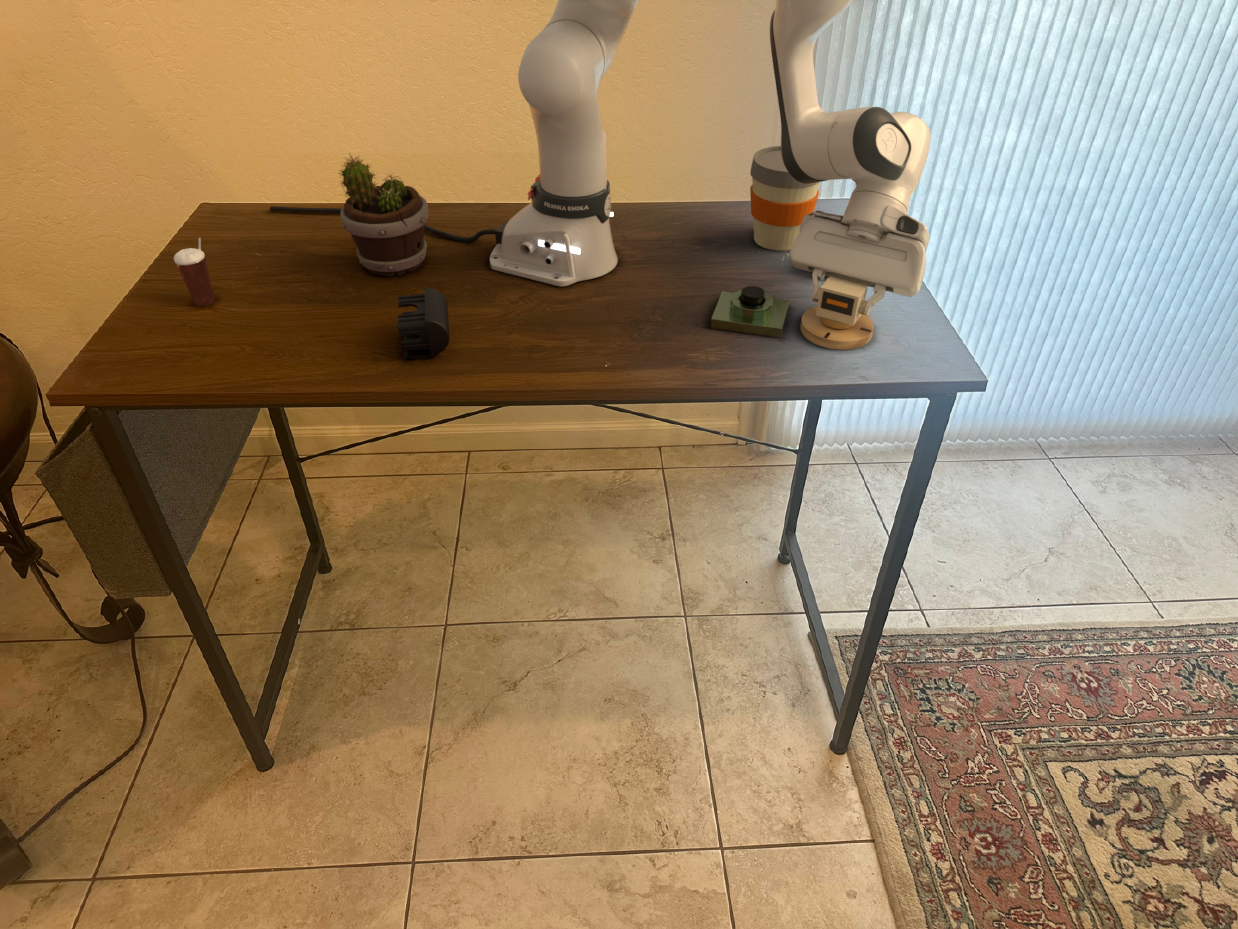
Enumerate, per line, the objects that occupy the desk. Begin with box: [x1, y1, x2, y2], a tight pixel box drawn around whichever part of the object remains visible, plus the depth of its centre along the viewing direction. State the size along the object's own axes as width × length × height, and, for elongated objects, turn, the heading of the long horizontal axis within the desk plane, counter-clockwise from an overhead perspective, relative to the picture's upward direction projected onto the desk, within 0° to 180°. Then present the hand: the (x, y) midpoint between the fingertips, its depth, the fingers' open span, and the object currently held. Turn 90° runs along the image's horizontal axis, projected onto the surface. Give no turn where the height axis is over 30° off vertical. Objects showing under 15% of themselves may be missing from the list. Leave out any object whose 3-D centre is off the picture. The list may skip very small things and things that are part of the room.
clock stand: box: [799, 305, 875, 351], centre depth 133 cm, size 11×11×2 cm
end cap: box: [397, 287, 450, 361], centre depth 130 cm, size 10×7×7 cm
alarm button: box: [740, 285, 766, 306], centre depth 134 cm, size 4×4×2 cm
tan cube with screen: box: [816, 276, 869, 329], centre depth 131 cm, size 5×6×6 cm
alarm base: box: [710, 289, 790, 339], centre depth 136 cm, size 11×9×4 cm
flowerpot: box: [337, 152, 430, 277], centre depth 145 cm, size 14×15×20 cm
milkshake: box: [173, 237, 216, 307], centre depth 139 cm, size 5×5×10 cm
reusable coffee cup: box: [749, 145, 821, 252], centre depth 153 cm, size 13×13×15 cm
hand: (839, 307), depth 131 cm, fingers closed on tan cube with screen, 6 cm apart
